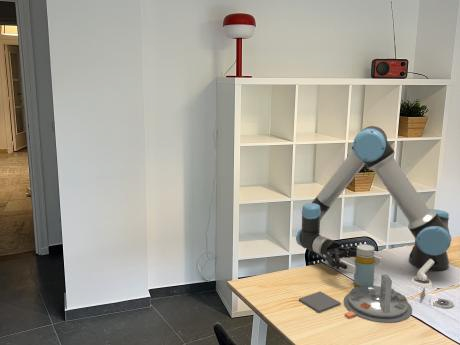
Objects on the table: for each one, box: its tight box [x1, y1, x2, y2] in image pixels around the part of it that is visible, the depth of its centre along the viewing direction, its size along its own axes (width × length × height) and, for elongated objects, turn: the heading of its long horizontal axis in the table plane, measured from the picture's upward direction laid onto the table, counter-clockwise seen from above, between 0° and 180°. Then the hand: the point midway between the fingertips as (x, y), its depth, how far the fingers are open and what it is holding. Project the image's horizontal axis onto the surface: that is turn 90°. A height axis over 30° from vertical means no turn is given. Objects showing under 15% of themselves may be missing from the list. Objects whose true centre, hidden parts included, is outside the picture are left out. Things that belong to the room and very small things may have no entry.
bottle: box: [353, 243, 376, 287], centre depth 164 cm, size 7×7×15 cm
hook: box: [410, 259, 434, 289], centre depth 166 cm, size 8×12×7 cm
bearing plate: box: [343, 293, 413, 324], centre depth 151 cm, size 22×22×1 cm
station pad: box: [298, 290, 342, 314], centre depth 153 cm, size 10×10×1 cm
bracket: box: [419, 288, 455, 309], centre depth 152 cm, size 7×10×3 cm, turn 57°
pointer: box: [344, 311, 357, 320], centre depth 144 cm, size 3×2×1 cm, turn 122°
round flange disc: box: [348, 274, 409, 319], centre depth 149 cm, size 19×19×13 cm
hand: (367, 265), depth 162 cm, fingers open, 13 cm apart
